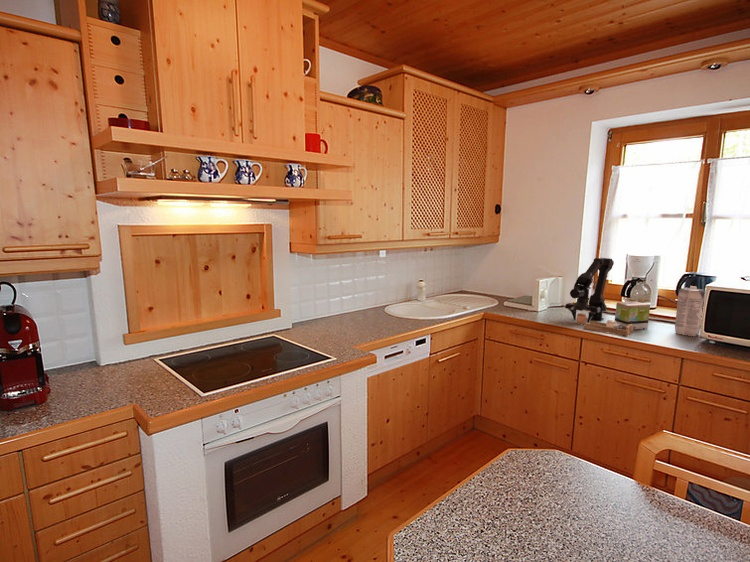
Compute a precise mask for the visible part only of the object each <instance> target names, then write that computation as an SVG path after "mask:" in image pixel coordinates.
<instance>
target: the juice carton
mask: <svg viewBox="0 0 750 562" xmlns="http://www.w3.org/2000/svg"><path fill="white" fill-rule="evenodd" d="M689 286H690V287H682V288H680V289H679V290H678V296H677V304H676V314H675V321H674V322H675V323H674V330H675V334H676V333H677V335H681V334H682V335H683V336H687V335H688V336H687V337H692V336H693V337H696V336H698V335H699V333H700V332H701V328H700V325H701V326H702V320H701V316H702V317H703V312H702V308H703V309H704V303H703V301H705V289H701V288H697V286H693V285H689ZM682 335H681V336H682ZM693 337H692V338H693Z"/></svg>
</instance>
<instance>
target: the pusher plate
mask: <svg viewBox="0 0 750 562" xmlns="http://www.w3.org/2000/svg"><path fill="white" fill-rule="evenodd" d="M616 329H622V330H623V327H621V323H619V324H618V325H616Z"/></svg>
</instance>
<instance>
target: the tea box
mask: <svg viewBox="0 0 750 562" xmlns="http://www.w3.org/2000/svg"><path fill="white" fill-rule="evenodd" d="M650 313H651V304H649V303H644V302H640V301H621V302H616V306H615V314H614V316H615V317H614V321H616V322H617V325H618V324H619V323H621V326H625V327H627V326H629V325H630V324H633V330H644V329H643V328H647V329H648V327H649V320H650V319H649V318H650Z"/></svg>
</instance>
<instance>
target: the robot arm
mask: <svg viewBox="0 0 750 562" xmlns="http://www.w3.org/2000/svg"><path fill="white" fill-rule="evenodd" d="M614 264H615V263H614V260H613V259H612V258H607V257H596V258H593V262H592V263H591V264H590V266H589V267H588V268H587V270H585V272H582V273H581V274H580V275H579V276H577V279H576V281H575V283H574V285H573V288H572V289H571V290H570V292H569V295H570V297H571V298H572V299H576V302H574V303H572V302H567V303H566V304H565V305H564V308H565V309H567V310H568V311H570V312H571V315H572V318H573V321H577V311H580V312H582V311H584V310H585V311H589V312H587V313H588V315H587V324H590V321H592V320H593V319H594V320H593V321H599V320H600V321H603V320H604V319H605V318H604V317H603V313H604V312H606V311H607V309H608V307H607V305H606V303H605V301H606V300H605V297H604V292H605V291H604V290H605V287H606V282H607V277H608V274H609V272H610V271H611V270H612V269H613V266H614ZM597 272H598V275H597V280H596V283H595V289H594V293H593V294H591V295H590V290H591V288H592V287H590V286H592V284H593V281H594V279H593V278H594V276H595V275H596V274H597ZM589 295H590V296H589ZM600 321H599V322H600Z"/></svg>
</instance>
